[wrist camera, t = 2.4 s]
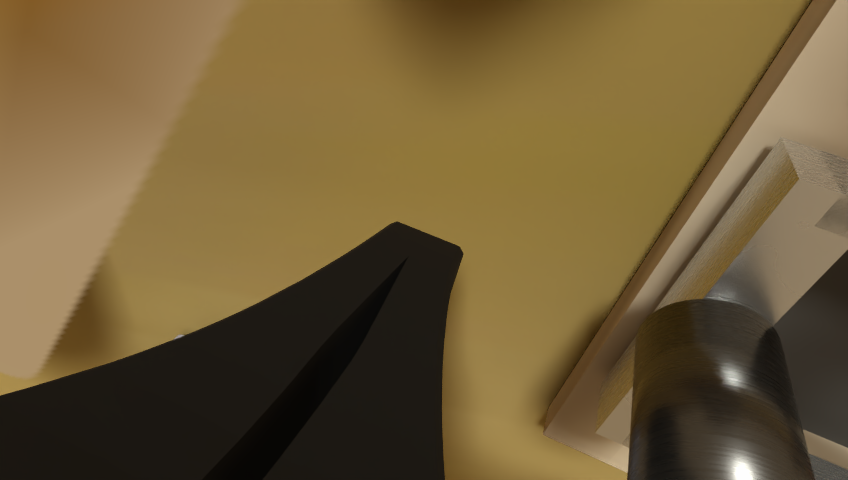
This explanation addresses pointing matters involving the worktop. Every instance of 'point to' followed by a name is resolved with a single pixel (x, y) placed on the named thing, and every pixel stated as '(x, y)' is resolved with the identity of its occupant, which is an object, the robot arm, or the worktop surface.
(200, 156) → the worktop surface
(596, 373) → the tunnel deck
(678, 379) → the slider frame
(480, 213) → the worktop surface
